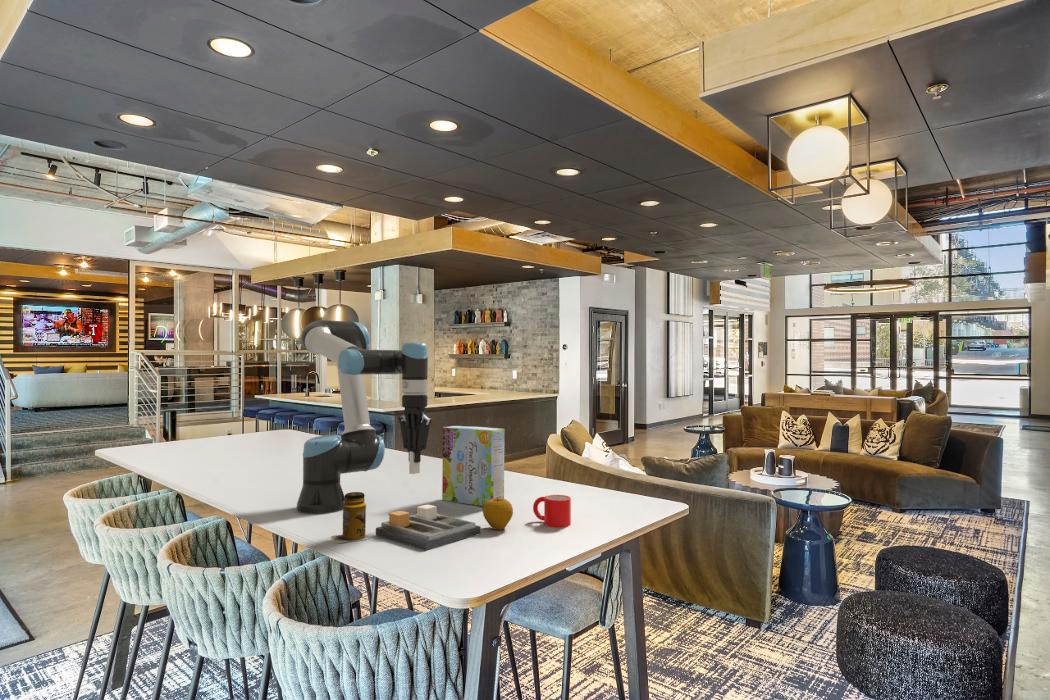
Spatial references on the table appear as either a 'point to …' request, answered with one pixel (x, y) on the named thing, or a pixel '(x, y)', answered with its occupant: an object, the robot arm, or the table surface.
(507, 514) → the apple
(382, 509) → the table surface
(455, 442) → the snack box
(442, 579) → the table surface
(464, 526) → the grey slotted tray
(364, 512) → the condiment
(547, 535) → the table surface
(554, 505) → the mug
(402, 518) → the fader orange
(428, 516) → the block
